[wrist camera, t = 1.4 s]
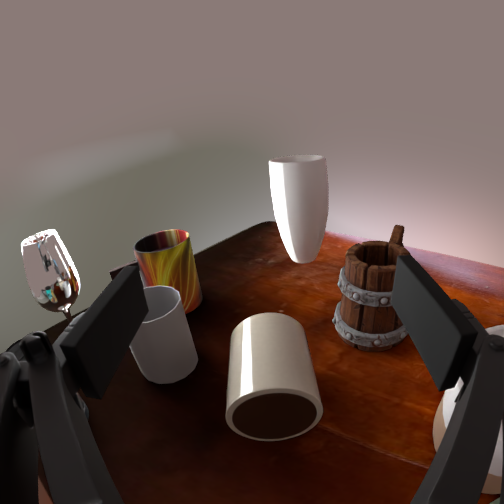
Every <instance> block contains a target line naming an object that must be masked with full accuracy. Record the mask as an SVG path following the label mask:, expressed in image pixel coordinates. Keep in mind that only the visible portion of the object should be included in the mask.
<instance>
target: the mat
mask: <svg viewBox="0 0 504 504" xmlns="http://www.w3.org/2000/svg"><path fill="white" fill-rule="evenodd" d="M499 503H500V498H498V499H496V500H495V501H493V502H491V503H490V504H499Z"/></svg>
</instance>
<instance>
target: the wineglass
mask: <svg viewBox="0 0 504 504" xmlns="http://www.w3.org/2000/svg"><path fill="white" fill-rule="evenodd" d="M21 246H22V254H23V261H24V266H25V271H26V276H27V280H28V284H29V287H30V290H31V292H32V295H33V296H34V298H35V300H36V302H37V303H38V304H39V305H40V306H41V307H43V308H45V309H46V310H49V311H53V312H63V313H64V314H65V316H66V318H67V319H68V321H69V323H71V322H72V317H71V314H70V310H69V308H70V307H71V306H72V305H73V304H74V303H75V301H76V299H77V297H78V294H79V289H80V283H79V282H80V281H79V277H78V274H77V271H76V269H75V266H74V264H73V262H72V260H71V258H70V256H69V254H68V253H67V251H66V249H65V247H64V246H63V243H62V242H61V240H60V238H59V236H58V235H57V233H56V231H55V230H46V231H43V232H40V233H38V234H35V235H33V236H31V237H29V238H28V239H26V240H25V241H24V242H22V244H21Z"/></svg>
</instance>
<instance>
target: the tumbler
mask: <svg viewBox="0 0 504 504" xmlns="http://www.w3.org/2000/svg"><path fill="white" fill-rule="evenodd" d="M322 414H323V406H322V401H321V397H320V392H319V388H318V383H317V379H316V375H315V370H314V366H313V362H312V357H311V353H310V349H309V345H308V341H307V336H306V333H305V330H304V328H303V327H302V325H301V324H300V323H299V322H298V321H296V320H295V319H293V318H291V317H289V316H287V315H284V314H280V313H261V314H257V315H254V316H251V317H249V318H247V319H245V320H244V321H242V322H241V323H240V324H239V325H238V326H237V327H236V328H235V329H234V331H233V333H232V335H231V339H230V351H229V367H228V383H227V399H226V421H227V424H228V425H229V427H230V428H231V429H232V430H233V431H235V432H236V433H237V434H239V435H241V436H244V437H246V438H249V439H254V440H260V441H279V440H285V439H290V438H293V437H296V436H299V435H301V434H304V433H305V432H307V431H309V430H310V429H312V428H313V427H314V426H315V425H316V424H317V423H318V422H319V421H320V419H321V417H322Z"/></svg>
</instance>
